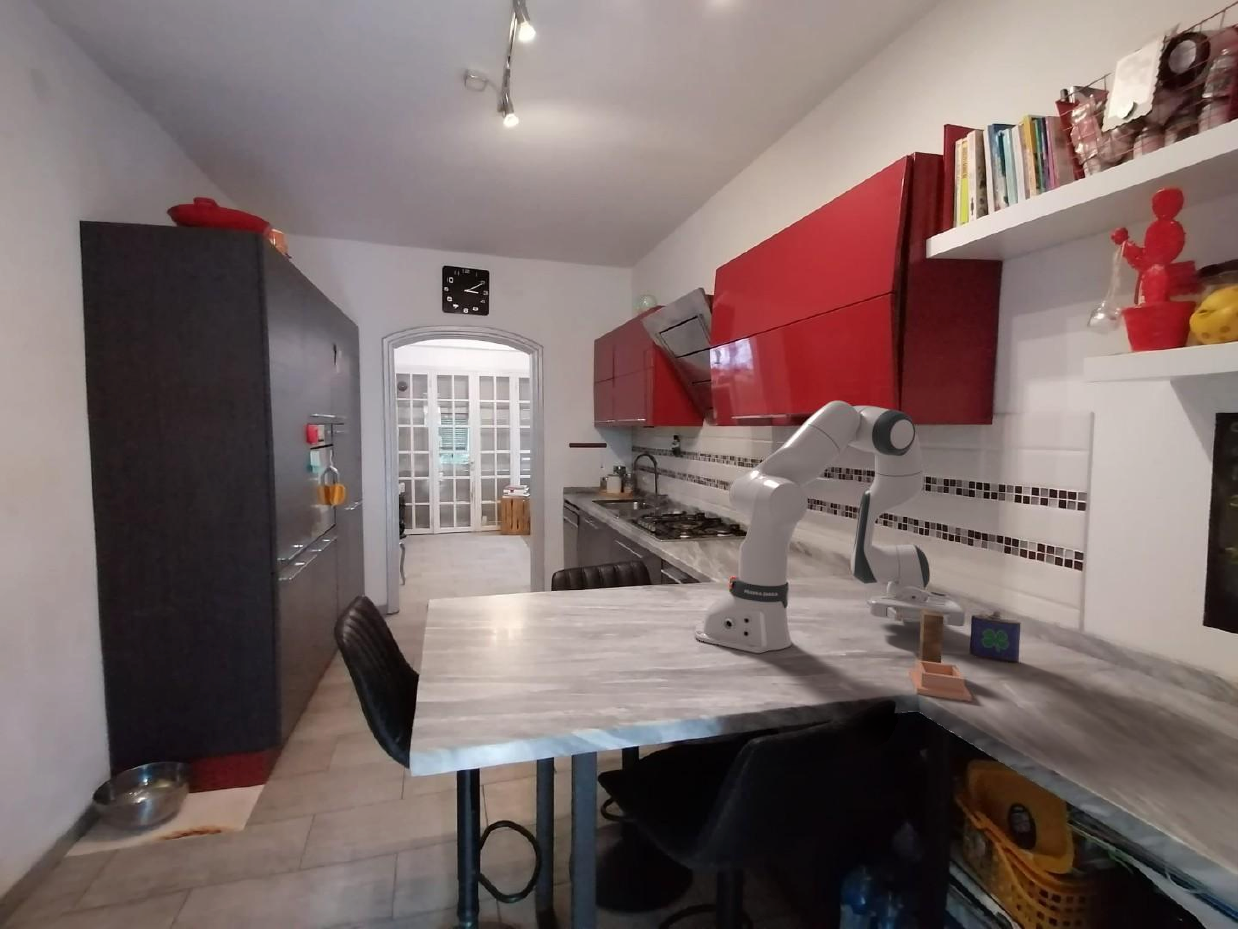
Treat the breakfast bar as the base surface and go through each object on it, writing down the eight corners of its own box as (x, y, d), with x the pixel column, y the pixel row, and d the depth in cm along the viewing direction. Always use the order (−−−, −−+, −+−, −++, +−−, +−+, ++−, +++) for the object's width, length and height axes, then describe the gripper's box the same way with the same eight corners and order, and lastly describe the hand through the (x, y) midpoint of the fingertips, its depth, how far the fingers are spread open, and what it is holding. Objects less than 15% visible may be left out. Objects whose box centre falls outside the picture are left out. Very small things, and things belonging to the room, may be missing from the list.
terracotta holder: (916, 693, 107) (917, 675, 107) (908, 673, 116) (909, 656, 116) (971, 701, 104) (972, 683, 104) (958, 680, 113) (959, 663, 113)
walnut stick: (921, 671, 117) (924, 614, 117) (918, 665, 121) (921, 609, 120) (940, 674, 116) (943, 616, 116) (936, 667, 120) (939, 611, 119)
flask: (1017, 660, 125) (1020, 612, 124) (1019, 665, 122) (1022, 616, 122) (968, 652, 129) (971, 606, 129) (970, 656, 127) (972, 609, 126)
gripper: (866, 587, 146) (871, 601, 133) (957, 596, 139) (971, 612, 126) (865, 611, 146) (870, 627, 133) (955, 621, 139) (970, 639, 126)
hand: (920, 620), depth 129 cm, fingers open, 8 cm apart
